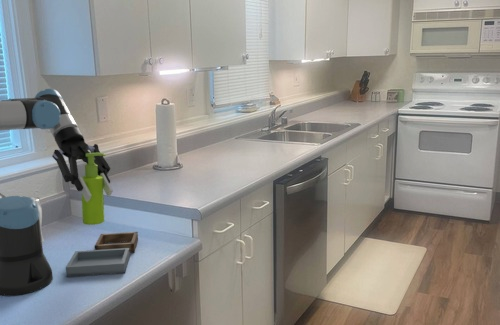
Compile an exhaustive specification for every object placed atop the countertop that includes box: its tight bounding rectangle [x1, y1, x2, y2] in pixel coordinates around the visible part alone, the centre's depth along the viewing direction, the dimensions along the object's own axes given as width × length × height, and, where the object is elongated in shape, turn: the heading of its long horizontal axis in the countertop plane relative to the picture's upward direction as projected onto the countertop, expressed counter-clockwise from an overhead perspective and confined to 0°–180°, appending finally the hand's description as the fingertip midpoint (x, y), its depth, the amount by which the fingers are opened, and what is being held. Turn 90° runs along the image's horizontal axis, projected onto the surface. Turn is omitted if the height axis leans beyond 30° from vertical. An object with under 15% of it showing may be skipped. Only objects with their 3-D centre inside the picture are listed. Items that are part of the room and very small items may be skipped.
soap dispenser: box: [81, 152, 106, 226], centre depth 140 cm, size 6×7×20 cm
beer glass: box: [28, 196, 45, 243], centre depth 164 cm, size 7×7×15 cm
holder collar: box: [94, 231, 139, 254], centre depth 159 cm, size 12×11×3 cm
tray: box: [65, 248, 131, 278], centre depth 144 cm, size 16×12×3 cm
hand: (99, 196), depth 138 cm, fingers closed on soap dispenser, 6 cm apart
